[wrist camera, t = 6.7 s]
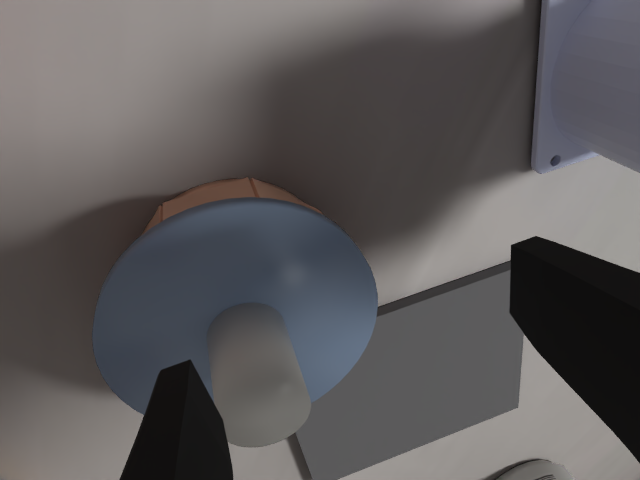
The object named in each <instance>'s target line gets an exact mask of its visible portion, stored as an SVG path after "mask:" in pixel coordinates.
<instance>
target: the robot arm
mask: <svg viewBox="0 0 640 480" xmlns="http://www.w3.org/2000/svg"><path fill="white" fill-rule="evenodd" d="M598 155H602V156H604V157H606V158H608V159H610V160H612V161H615V162H617V163H619V164H621V165H623V166H626V167H628V168H630V169H632V170H634V171H637V172H639V173H640V0H542V8H541V23H540V38H539V53H538V67H537V82H536V97H535V112H534V127H533V142H532V156H531V168H532V169H533V170H534V171H536V172H537V173H540V174H542V173H546V172H550V171H553V170H556V169H559V168H562V167H565V166H568V165H571V164H574V163H577V162H580V161H583V160H586V159H589V158H592V157H595V156H598ZM554 156H555V157H554ZM553 157H554V159H553V160H552V161H551V159H552V158H553ZM509 313H510V314H511V316H512V317H513V319H514V320H515V322H516V323H517V324H518V326H519V327H520V329H521V330H522V332H523V333H524V334H525V336H526V337H527V338H528V340H529V341H530V342H531V344H532V345H533V346H534V348H535V349H536V350H537V351H538V352H539V354H540V355H541V356H542V357H543V358H544V359H545V360H546V361H547V362H548V363H549V364H550V365H551V367H552V368H553V369H554V370H555V371H556V372H557V373H558V374H559V375H560V376H561V377H562V378H563V379H564V380H565V382H566V383H567V384H568V385H569V386H570V387H571V388H572V389H573V390H574V391H575V392H576V393H577V394H578V395H579V396H580V397H581V398H582V399H583V401H584V402H585V403H586V404H587V405H588V406H589V407H590V408H591V409H592V410H593V411H594V412H595V413H596V414H597V415H598V416H599V417H600V418H601V420H602V421H603V422H604V423H605V424H606V425H607V426H608V427H609V428H610V429H611V430H612V431H613V432H614V433H615V435H616V436H617V437H618V438H619V439H620V440H621V441H622V442H623V444H624V445H625V446H626V447H627V448H628V449H629V450H630V452H631V453H632V454H633V455H634V457H635V458H636V459H637V460H638V462H639V463H640V273H638V272H635V271H632V270H630V269H627V268H624V267H621V266H618V265H616V264H613V263H610V262H607V261H605V260H602V259H599V258H597V257H594V256H591V255H589V254H586V253H583V252H580V251H578V250H575V249H572V248H569V247H567V246H564V245H561V244H558V243H556V242H553V241H550V240H547V239H544V238H540V237H537V236H535V237H532V238H529V239H527V240H524V241H521V242H518V243H515V244H513V245H511V271H510V308H509ZM120 480H233V470H232V464H231V458H230V453H229V447H228V442H227V437H226V432H225V427H224V422H223V419H222V417H221V415H220V413H219V411H218V410H217V408H216V406H215V404H214V402H213V400H212V398H211V396H210V395H209V393H208V391H207V389H206V387H205V385H204V383H203V382H202V380H201V378H200V376H199V374H198V372H197V370H196V368H195V367H194V365H193V363H192V361H191V359H190V360H187V361H184V362H181V363H179V364H176V365H173V366H170V367H167V368H165V369H162V370H161V371H160V372H159V374H158V376H157V379H156V382H155V385H154V388H153V391H152V394H151V397H150V400H149V403H148V406H147V409H146V412H145V415H144V417H143V420H142V423H141V426H140V428H139V431H138V434H137V437H136V439H135V442H134V444H133V447H132V449H131V452H130V455H129V457H128V460H127V462H126V465H125V467H124V470H123V472H122V475H121V477H120Z"/></svg>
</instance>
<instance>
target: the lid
mask: <svg viewBox="0 0 640 480" xmlns="http://www.w3.org/2000/svg"><path fill="white" fill-rule="evenodd" d="M377 309H378V295H377V289H376V283H375V279H374V277H373V274H372V271H371V268H370V266H369V265H368V263H367V261H366V259H365V258H364V256H363V254H362V253H361V251H360V250H359V248H358V247H357V246H356V244H355V243H354V242H353V240H352V239H351V238H350V237H349V235H348V234H347V233H346V232H345V231H344V230H343V229H341V228H340V227H339V226H338V225H337V224H336V223H335V222H333V221H332V220H330V219H329V218H327V217H325V216H324V215H322V214H321V213H319V212H316V211H314V210H312V209H310V208H308V207H306V206H302V205H299V204H296V203H292V202H289V201H284V200H278V199H272V198H260V197H243V198H229V199H223V200H218V201H213V202H208V203H205V204H201V205H198V206H195V207H192V208H189V209H186V210H184V211H182V212H180V213H177V214H175V215H173V216H171V217H169V218H167V219H165V220H163V221H162V222H160V223H158V224H157V225H155V226H154V227H152V228H150V229H149V230H148V231H146V232H145V233H144V234H143V235H141V236H140V237H139V238H138V239H136V240H135V241H134V242H133V243H132V244H131V245H130V246H129V247H128V248H127V249H126V250H125V251H124V252H123V253H122V255H121V256H120V257H119V258H118V260H117V261H116V263H115V264H114V265H113V267H112V268H111V270H110V271H109V273H108V275H107V277H106V279H105V281H104V283H103V285H102V288H101V291H100V294H99V297H98V301H97V305H96V310H95V316H94V323H93V331H92V340H93V351H94V355H95V359H96V363H97V366H98V368H99V370H100V372H101V374H102V376H103V378H104V380H105V381H106V383H107V384H108V385H109V387H110V388H111V390H112V391H113V392H114V393H115V394H116V395H117V396H118V397H119V398H120V399H121V400H122V401H123V402H125V403H126V404H127V405H129V406H130V407H131V408H133V409H134V410H136V411H138V412H139V413H141V414H143V415H145V412H146V409H147V406H148V403H149V400H150V397H151V394H152V391H153V388H154V385H155V382H156V379H157V376H158V374H159V372H160V371H161V370H162V369H165V368H167V367H170V366H173V365H176V364H179V363H181V362H184V361H187V360H190V359H191V361H192V363H193V365H194V367H195V368H196V370H197V372H198V374H199V376H200V378H201V380H202V382H203V383H204V385H205V387H206V389H207V391H208V393H209V395H210V396H211V398H212V400H213V402H214V404H215V406H216V408H217V410H218V411H219V413H220V415H221V417H222V419H223V422H224V427H225V432H226V437H227V441H228V442H229V443H231V444H234V445H237V446H241V447H262V446H267V445H271V444H274V443H277V442H279V441H281V440H283V439H285V438H287V437H289V436H290V435H292V434H293V433H295V432H296V431H297V430H298V429H299V428H300V427H301V426H302V425H303V424H304V423H305V421H306V420H307V418H308V416H309V413H310V410H311V403H312V402H314V401H316V400H317V399H319V398H320V397H321V396H323V395H324V394H326V393H327V392H328V391H330V390H331V389H332V388H333V387H334V386H335V385H337V384H338V383H339V382H340V381H341V380H342V379H343V378H344V377H345V376H346V375H347V374H348V373H349V371H350V370H351V369H352V368H353V366H354V365H355V364H356V363H357V361H358V360H359V358H360V357H361V355H362V353H363V352H364V350H365V348H366V347H367V344H368V342H369V340H370V338H371V335H372V333H373V329H374V326H375V322H376V316H377Z"/></svg>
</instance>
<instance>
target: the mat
mask: <svg viewBox="0 0 640 480" xmlns="http://www.w3.org/2000/svg"><path fill="white" fill-rule="evenodd" d="M510 271H511V261H509V262H506V263H503V264H501V265H498V266H495V267H492V268H489V269H486V270H483V271H481V272H478V273H475V274H472V275H469V276H466V277H464V278H461V279H458V280H455V281H452V282H449V283H446V284H444V285H441V286H438V287H435V288H432V289H429V290H426V291H424V292H421V293H418V294H415V295H412V296H409V297H407V298H404V299H401V300H398V301H395V302H392V303H389V304H387V305H384V306H381V307H378V309H377V316H376V322H375V326H374V329H373V333H372V335H371V338H370V340H369V342H368V344H367V347H366V348H365V350H364V352H363V353H362V355H361V357H360V358H359V360H358V361H357V363H356V364H355V365H354V366H353V368H352V369H351V370H350V371H349V373H348V374H347V375H346V376H345V377H344V378H343V379H342V380H341V381H340V382H339V383H338V384H337V385H335V386H334V387H333V388H332V389H331V390H330V391H328V392H327V393H326V394H324V395H323V396H321V397H320V398H319V399H317V400H316V401H314V402H312V403H311V410H310V413H309V416H308V418H307V420H306V421H305V423H304V424H303V425H302V426H301V427H300V428H299V429H298V430H297V431H296V432H295V433H296V436H297V438H298V441H299V444H300V447H301V449H302V452H303V455H304V457H305V460H306V463H307V466H308V468H309V471H310V474H311V476H312V479H313V480H337V479H340V478H342V477H345V476H347V475H350V474H352V473H355V472H357V471H360V470H362V469H365V468H367V467H370V466H372V465H375V464H377V463H380V462H382V461H385V460H387V459H390V458H392V457H395V456H397V455H400V454H402V453H405V452H407V451H410V450H412V449H415V448H418V447H420V446H423V445H425V444H428V443H430V442H433V441H435V440H438V439H440V438H443V437H445V436H448V435H450V434H453V433H455V432H458V431H460V430H463V429H465V428H468V427H470V426H473V425H475V424H478V423H480V422H483V421H485V420H488V419H490V418H493V417H495V416H498V415H500V414H503V413H505V412H508V411H511V410H513V409H516V408H518V403H519V389H520V376H521V363H522V349H523V336H524V333H523V332H522V330H521V329H520V327H519V326H518V324H517V323H516V322H515V320H514V319H513V317H512V316H511V314H510V313H509V308H510Z"/></svg>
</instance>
